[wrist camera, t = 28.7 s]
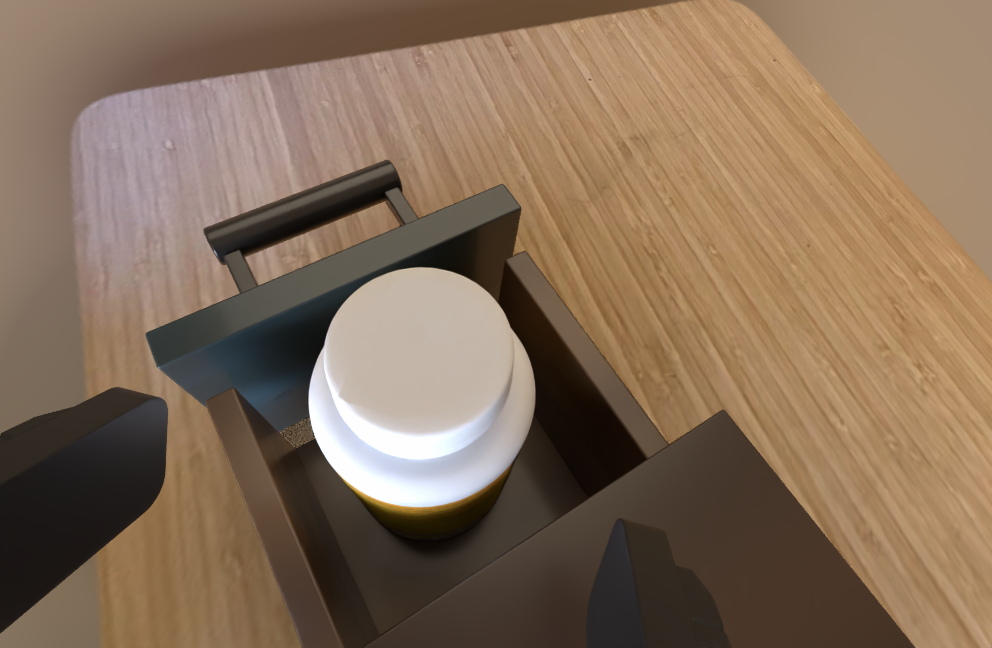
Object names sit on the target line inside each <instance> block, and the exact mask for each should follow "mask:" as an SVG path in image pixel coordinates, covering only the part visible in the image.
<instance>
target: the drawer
mask: <svg viewBox="0 0 992 648" xmlns="http://www.w3.org/2000/svg"><path fill="white" fill-rule="evenodd" d="M402 192H403V190H402V184H401V180H400V177H399V175H398V173H397V171H396V169H395V167H394V165H393V164H392V163H391V162H390V161H389V160H384V161H382V162H379V163H376V164H374V165H371V166H368V167H366V168H363V169H360V170H358V171H355V172H352V173H350V174H347V175H344V176H342V177H339V178H336V179H334V180H331V181H328V182H326V183H323V184H320V185H318V186H315V187H312V188H310V189H307V190H304V191H302V192H299V193H296V194H294V195H291V196H288V197H286V198H283V199H280V200H278V201H275V202H272V203H270V204H267V205H264V206H262V207H259V208H256V209H254V210H251V211H248V212H246V213H243V214H240V215H238V216H235V217H232V218H230V219H227V220H224V221H222V222H219V223H216V224H214V225H211V226H208V227H206V228H204V229H203V230H204V234H205V236H206V239H207V241H208V243H209V245H210V247H211V248H212V250H213V252H214V254H215V255H216V257H217V259H218V260H219V262H220V263H221V264H222V265H227V266H228V268H229V271H230V273H231V275H232V277H233V279H234V281H235V283H236V286H237V288H238V290H239V292H240V294H238V295H235V296H233V297H230V298H228V299H226V300H223V301H221V302H218V303H216V304H214V305H211V306H209V307H207V308H204V309H202V310H199V311H197V312H195V313H192V314H190V315H187V316H185V317H183V318H180V319H178V320H175V321H173V322H171V323H168V324H166V325H164V326H161V327H159V328H156V329H154V330H152V331H149V332H147V333H146V339H147V341H148V344H149V347H150V349H151V352H152V355H153V358H154V360H155V363H156V366H157V368H158V369H160V370H161V371H162V372H163V373H165V374H166V375H167V376H168V377H169V378H171V379H172V380H173V381H174V382H176V383H177V384H178V385H179V386H181V387H182V388H183V389H184V390H185V391H187V392H188V393H189V394H190V395H192V396H193V397H194V398H195V399H197V400H198V401H199V402H200V403H201V404H203V405H204V406H205V407H206V408H208V411H209V413H210V416H211V419H212V421H213V424H214V426H215V429H216V431H217V434H218V436H219V439H220V441H221V444H222V446H223V449H224V451H225V454H226V456H227V459H228V461H229V464H230V466H231V469H232V471H233V474H234V477H235V479H236V482H237V484H238V487H239V489H240V492H241V494H242V497H243V499H244V502H245V504H246V507H247V509H248V512H249V514H250V517H251V519H252V522H253V524H254V527H255V529H256V532H257V535H258V537H259V540H260V542H261V545H262V547H263V550H264V552H265V555H266V557H267V560H268V562H269V565H270V567H271V570H272V572H273V575H274V577H275V580H276V582H277V585H278V588H279V590H280V593H281V595H282V598H283V600H284V603H285V605H286V608H287V610H288V613H289V615H290V618H291V620H292V623H293V625H294V628H295V630H296V633H297V635H298V638H299V640H300V643H301V646H302V648H361V647H363V646H364V645H366V644H367V643H369V642H370V641H372V640H373V639H375V638H376V637H378V636H379V635H381V634H382V633H384V632H386V631H387V630H389V629H390V628H392V627H393V626H395V625H396V624H398V623H399V622H401V621H402V620H404V619H405V618H407V617H408V616H410V615H411V614H413V613H414V612H416V611H417V610H419V609H420V608H422V607H423V606H425V605H426V604H428V603H430V602H431V601H433V600H434V599H436V598H437V597H439V596H440V595H442V594H443V593H445V592H446V591H448V590H449V589H451V588H452V587H454V586H455V585H457V584H458V583H460V582H461V581H463V580H464V579H466V578H467V577H469V576H470V575H472V574H474V573H475V572H477V571H478V570H480V569H481V568H483V567H484V566H486V565H487V564H489V563H490V562H492V561H493V560H495V559H496V558H498V557H499V556H501V555H502V554H504V553H505V552H507V551H508V550H510V549H511V548H513V547H514V546H516V545H518V544H519V543H521V542H522V541H524V540H525V539H527V538H528V537H530V536H531V535H533V534H534V533H536V532H537V531H539V530H540V529H542V528H543V527H545V526H546V525H548V524H549V523H551V522H552V521H554V520H555V519H557V518H558V517H560V516H562V515H563V514H565V513H566V512H568V511H569V510H571V509H572V508H574V507H575V506H577V505H578V504H580V503H581V502H583V501H584V500H586V499H587V498H589V497H590V496H592V495H593V494H595V493H596V492H598V491H599V490H601V489H602V488H604V487H606V486H607V485H609V484H610V483H612V482H613V481H615V480H616V479H618V478H619V477H621V476H622V475H624V474H625V473H627V472H628V471H630V470H631V469H633V468H634V467H636V466H637V465H639V464H640V463H642V462H643V461H645V460H646V459H648V458H650V457H651V456H653V455H654V454H656V453H657V452H659V451H660V450H662V449H663V448H665V447H666V446H668V445H669V444H668V443H667V441H666V440H665V439H664V437H663V436H662V435H661V433H660V432H659V430H658V429H657V428H656V426H655V425H654V424H653V422H652V421H651V420H650V418H649V417H648V416H647V414H646V413H645V412H644V410H643V409H642V407H641V406H640V405H639V403H638V402H637V401H636V399H635V398H634V397H633V395H632V394H631V393H630V391H629V390H628V388H627V387H626V386H625V384H624V383H623V382H622V380H621V379H620V378H619V376H618V375H617V374H616V372H615V371H614V370H613V368H612V367H611V365H610V364H609V363H608V361H607V360H606V359H605V357H604V356H603V355H602V353H601V352H600V351H599V349H598V348H597V347H596V345H595V344H594V342H593V341H592V340H591V338H590V337H589V336H588V334H587V333H586V332H585V330H584V329H583V328H582V326H581V325H580V323H579V322H578V321H577V319H576V318H575V317H574V315H573V314H572V313H571V311H570V310H569V309H568V307H567V306H566V305H565V303H564V302H563V300H562V299H561V298H560V296H559V295H558V294H557V292H556V291H555V290H554V288H553V287H552V286H551V284H550V283H549V281H548V280H547V279H546V277H545V276H544V275H543V273H542V272H541V271H540V269H539V268H538V267H537V265H536V264H535V263H534V261H533V260H532V258H531V257H530V256H529V254H528V253H527V252H526V251H523V252H520V253H518V254H516V255H514V256H513V252H514V247H515V241H516V236H517V231H518V225H519V220H520V215H521V206H520V205H519V203H518V202H517V201H516V200H515V198H514V197H513V196H512V194H511V193H510V192H509V190H508V189H507V188H506V186H505V185H504V184H500V185H498V186H496V187H493V188H491V189H488V190H486V191H484V192H481V193H479V194H477V195H474V196H472V197H469V198H467V199H465V200H462V201H460V202H457V203H455V204H453V205H450V206H448V207H445V208H443V209H441V210H438V211H436V212H434V213H431V214H429V215H426V216H424V217H422V218H418V217H417V215H416V214H415V212H414V211H413V209H412V207H411V206H410V204H409V203H408V201H407V200H406V198H405V197H404V195H403V194H402ZM384 201H386V204H387V205H388V207H389V208H390V210H391V211H392V213H393V215H394V216H395V218H396V219H397V221H398V222H399V224H400V227H398V228H395V229H393V230H391V231H388V232H386V233H383V234H381V235H379V236H376V237H374V238H371V239H369V240H367V241H364V242H362V243H359V244H357V245H355V246H352V247H350V248H347V249H345V250H343V251H340V252H338V253H336V254H333V255H331V256H328V257H326V258H324V259H321V260H319V261H316V262H314V263H312V264H309V265H307V266H304V267H302V268H300V269H297V270H295V271H293V272H290V273H288V274H285V275H283V276H281V277H278V278H276V279H273V280H271V281H269V282H266V283H264V284H261V285H258V283H257V281H256V279H255V277H254V275H253V273H252V271H251V269H250V267H249V265H248V263H247V261H246V259H245V257H247V256H249V255H252V254H254V253H257V252H259V251H262V250H264V249H267V248H269V247H272V246H274V245H277V244H279V243H282V242H284V241H287V240H289V239H292V238H294V237H297V236H299V235H302V234H304V233H307V232H309V231H312V230H314V229H317V228H319V227H322V226H324V225H327V224H329V223H332V222H334V221H337V220H339V219H342V218H344V217H347V216H349V215H352V214H354V213H357V212H359V211H362V210H364V209H367V208H369V207H372V206H374V205H377V204H379V203H382V202H384ZM419 267H422V268H436V269H442V270H446V271H450V272H453V273H456V274H459V275H462V276H464V277H466V278H468V279H470V280H471V281H473V282H475V283H477V284H478V285H479V286H481V287H482V288H483V289H485V290H486V291H487V292H488V293H489V294H490V295H491V296H492V297H493V298H494V299H495V301H496V302H497V303H498V304H499V305H500V307H501V309H502V310H503V312H504V313H505V315H506V318H507V320H508V322H509V325H510V328H511V329H512V330H513V332H514V333H515V334H516V336H517V337H518V339H519V340H520V342H521V343H522V345H523V347H524V348H525V351H526V353H527V355H528V358H529V360H530V363H531V367H532V370H533V375H534V380H535V408H534V414H533V419H532V423H531V426H530V429H529V432H528V435H527V438H526V442H525V443H524V445H523V447H522V449H521V451H520V453H519V455H518V457H517V459H516V462H515V464H514V466H513V468H512V471H511V473H510V475H509V477H508V479H507V481H506V484H505V486H504V488H503V490H502V492H501V494H500V496H499V498H498V500H497V502H496V503H495V505H494V506H493V507H492V508H491V510H490V511H489V512H488V513H487V514H486V515H485V516H484V518H482V519H481V520H480V521H479V522H478V523H477V524H475V525H474V526H473V527H471V528H470V529H468V530H466V531H464V532H462V533H460V534H458V535H455V536H452V537H449V538H445V539H440V540H416V539H411V538H407V537H404V536H401V535H398V534H396V533H394V532H392V531H390V530H389V529H387V528H385V527H384V526H383V525H381V524H380V523H379V522H378V521H377V520H376V519H375V518H374V517H373V516H372V515H371V514H370V513H369V511H368V510H367V509H366V508H365V506H364V505H363V504H362V502H361V501H360V500H359V499H358V498H357V496H356V495H355V494H354V493H353V492H352V490H351V489H350V488H349V487H348V485H347V484H346V483H345V482H344V481H343V479H342V478H341V477H340V476H339V474H338V473H337V472H336V471H335V469H334V468H333V467H332V466H331V464H330V463H329V462H328V460H327V459H326V457H325V455H324V454H323V452H322V450H321V448H320V446H319V444H318V442H317V440H316V439H314V440H312V441H310V442H308V443H306V444H304V445H302V446H300V447H298V448H296V449H295V448H294V447H293V446H292V445H291V444H290V443H289V442H288V441H287V440H286V439H285V438H284V437H283V436H282V435H281V434H280V433H279V431H281V430H283V429H285V428H287V427H289V426H291V425H293V424H295V423H297V422H299V421H301V420H303V419H305V418H307V417H309V416H310V414H309V388H310V381H311V377H312V373H313V370H314V367H315V364H316V361H317V359H318V357H319V355H320V353H321V351H322V349H323V347H324V345H325V340H326V336H327V332H328V329H329V326H330V324H331V322H332V320H333V318H334V316H335V315H336V313H337V311H338V310H339V308H340V307H341V306H342V305H343V303H344V302H345V301H346V300H347V299H348V298H349V297H350V296H351V295H352V294H353V293H354V292H355V291H356V290H358V289H359V288H360V287H362V286H363V285H365V284H366V283H368V282H369V281H371V280H373V279H375V278H377V277H380V276H382V275H384V274H387V273H390V272H393V271H397V270H401V269H408V268H419Z"/></svg>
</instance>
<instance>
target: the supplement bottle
mask: <svg viewBox="0 0 992 648" xmlns="http://www.w3.org/2000/svg"><path fill="white" fill-rule="evenodd" d="M534 408H535V380H534V375H533V370H532V367H531V363H530V360H529V358H528V355H527V353H526V351H525V348H524V347H523V345H522V343H521V342H520V340H519V339H518V337H517V336H516V334H515V333H514V332H513V330H512V329H511V328H510V325H509V322H508V320H507V318H506V315H505V313H504V312H503V310H502V309H501V307H500V305H499V304H498V303H497V302H496V301H495V299H494V298H493V297H492V296H491V295H490V294H489V293H488V292H487V291H486V290H485V289H483V288H482V287H481V286H479V285H478V284H477V283H475V282H473V281H471V280H470V279H468V278H466V277H464V276H462V275H459V274H456V273H453V272H450V271H446V270H442V269H436V268H422V267H419V268H408V269H401V270H397V271H393V272H390V273H387V274H384V275H382V276H380V277H377V278H375V279H373V280H371V281H369V282H368V283H366V284H365V285H363V286H362V287H360V288H359V289H358V290H356V291H355V292H354V293H353V294H352V295H351V296H350V297H349V298H348V299H347V300H346V301H345V302H344V303H343V305H342V306H341V307H340V308H339V310H338V311H337V313H336V315H335V316H334V318H333V320H332V322H331V324H330V326H329V329H328V332H327V336H326V340H325V345H324V347H323V349H322V351H321V353H320V355H319V357H318V359H317V361H316V364H315V367H314V370H313V373H312V377H311V381H310V388H309V414H310V419H311V425H312V428H313V432H314V435H315V438H316V440H317V442H318V444H319V446H320V448H321V450H322V452H323V454H324V455H325V457H326V459H327V460H328V462H329V463H330V464H331V466H332V467H333V468H334V469H335V471H336V472H337V473H338V474H339V476H340V477H341V478H342V479H343V481H344V482H345V483H346V484H347V485H348V487H349V488H350V489H351V490H352V492H353V493H354V494H355V495H356V496H357V498H358V499H359V500H360V501H361V502H362V504H363V505H364V506H365V508H366V509H367V510H368V511H369V513H370V514H371V515H372V516H373V517H374V518H375V519H376V520H377V521H378V522H379V523H380V524H381V525H383V526H384V527H385V528H387V529H389V530H390V531H392V532H394V533H396V534H398V535H401V536H404V537H407V538H411V539H416V540H440V539H445V538H449V537H452V536H455V535H458V534H460V533H462V532H464V531H466V530H468V529H470V528H471V527H473V526H474V525H475V524H477V523H478V522H479V521H480V520H481V519H482V518H484V516H485V515H486V514H487V513H488V512H489V511H490V510H491V508H492V507H493V506H494V505H495V503H496V502H497V500H498V498H499V496H500V494H501V492H502V490H503V488H504V486H505V484H506V481H507V479H508V477H509V475H510V473H511V471H512V468H513V466H514V464H515V462H516V459H517V457H518V455H519V453H520V451H521V449H522V447H523V445H524V443H525V442H526V438H527V435H528V432H529V429H530V426H531V423H532V419H533V414H534Z"/></svg>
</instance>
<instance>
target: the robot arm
mask: <svg viewBox="0 0 992 648" xmlns="http://www.w3.org/2000/svg"><path fill="white" fill-rule="evenodd" d="M167 422H168V408H167V404H166V402H165V401H164V400H163V399H162V398H159V397H155V396H151V395H147V394H144V393H140V392H136V391H132V390H128V389H124V388H120V387H115V388H111V389H109V390H107V391H105V392H103V393H101V394H99V395H97V396H95V397H93V398H91V399H89V400H87V401H85V402H83V403H81V404H79V405H77V406H75V407H71V408H67V409H63V410H60V411H56V412H52V413H48V414H45V415H41V416H37V417H34V418H32V419H30V420H28V421H26V422H23V423H22V424H19V425H17V426H15V427H13V428H11V429H9V430H7V431H5V432H3V433H1V435H0V633H1V632H3V631H4V630H5V629H6V628H7V627H9V626H10V625H11V624H12V623H13V622H14V621H16V620H17V619H18V618H19V617H20V616H22V615H23V614H24V613H25V612H27V611H28V610H29V609H30V608H31V607H32V606H34V605H35V604H36V603H37V602H38V601H39V600H41V599H42V598H43V597H44V596H46V595H47V594H48V593H49V592H50V591H52V590H53V589H54V588H55V587H56V586H57V585H59V584H60V583H61V582H62V581H63V580H65V579H66V578H67V577H68V576H69V575H71V574H72V573H73V572H74V571H75V570H77V569H78V568H79V567H80V566H81V565H82V564H84V563H85V562H86V561H87V560H88V559H90V558H91V557H92V556H93V555H94V554H96V553H97V552H98V551H99V550H100V549H102V548H103V547H104V546H105V545H106V544H108V543H109V542H110V541H111V540H112V539H114V538H115V537H116V536H117V535H118V534H119V533H121V532H122V531H123V530H124V529H125V528H127V527H128V526H129V525H130V524H131V523H133V522H134V521H135V520H136V519H137V518H139V517H140V516H141V515H142V514H143V513H144V512H146V511H147V510H148V509H149V508H150V506H151V505H152V504H153V503H154V501H155V500H156V498H157V496H158V495H159V493H160V490H161V488H162V486H163V482H164V478H165V468H166V445H167ZM586 640H587V648H732V647H731V645H730V642H729V639H728V636H727V634H726V633H724V625H723V622H722V620H721V617H720V614H719V611H718V609H717V606H716V603H715V600H714V598H713V596H712V595H711V594H710V592H709V591H708V590H707V589H706V587H705V586H704V585H703V583H702V582H701V581H700V579H699V578H698V577H697V576H696V574H695V573H694V572H693V570H691V569H687V568H684V567H680V566H676V565H675V562H674V558H673V555H672V552H671V548H670V545H669V542H668V538H667V535H666V533H665V531H664V530H663V529H659V528H656V527H652V526H648V525H644V524H640V523H636V522H632V521H629V520H625V519H621V518H619V519H618V520H617V521H616V522H615V524H614V526H613V529H612V531H611V534H610V537H609V540H608V543H607V546H606V549H605V552H604V555H603V558H602V560H601V563H600V566H599V569H598V572H597V575H596V578H595V581H594V584H593V587H592V590H591V593H590V597H589V602H588V608H587V617H586Z"/></svg>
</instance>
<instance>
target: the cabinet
mask: <svg viewBox="0 0 992 648" xmlns="http://www.w3.org/2000/svg"><path fill="white" fill-rule="evenodd" d="M619 518H621V519H625V520H629V521H632V522H636V523H640V524H644V525H648V526H652V527H656V528H659V529H663V530H664V531H665V533H666V535H667V538H668V542H669V545H670V548H671V552H672V555H673V558H674V562H675V565H676V566H680V567H684V568H687V569H691V570H693V572H694V573H695V574H696V576H697V577H698V578H699V579H700V581H701V582H702V583H703V585H704V586H705V587H706V589H707V590H708V591H709V592H710V594H711V595H712V596H713V598H714V600H715V603H716V606H717V609H718V611H719V614H720V617H721V620H722V622H723V625H724V633H726V634H727V636H728V639H729V642H730V645H731V647H732V648H915V647H914V645H913V644H912V643H911V642H910V640H909V639H908V638H907V637H906V635H905V634H904V633H903V632H902V630H901V629H900V628H899V627H898V625H897V624H896V623H895V622H894V620H893V619H892V618H891V617H890V615H889V614H888V613H887V612H886V610H885V609H884V608H883V607H882V605H881V604H880V603H879V602H878V600H877V599H876V598H875V597H874V595H873V594H872V593H871V592H870V591H869V589H868V588H867V587H866V586H865V584H864V583H863V582H862V581H861V579H860V578H859V577H858V576H857V574H856V573H855V572H854V571H853V569H852V568H851V567H850V566H849V564H848V563H847V562H846V561H845V559H844V558H843V557H842V556H841V554H840V553H839V552H838V551H837V549H836V548H835V547H834V546H833V544H832V543H831V542H830V541H829V539H828V538H827V537H826V536H825V534H824V533H823V532H822V531H821V529H820V528H819V527H818V526H817V524H816V523H815V522H814V521H813V519H812V518H811V517H810V516H809V514H808V513H807V512H806V511H805V509H804V508H803V507H802V506H801V505H800V503H799V502H798V501H797V500H796V498H795V497H794V496H793V495H792V493H791V492H790V491H789V490H788V488H787V487H786V486H785V485H784V483H783V482H782V481H781V480H780V478H779V477H778V476H777V475H776V473H775V472H774V471H773V470H772V468H771V467H770V466H769V465H768V463H767V462H766V461H765V460H764V458H763V457H762V456H761V455H760V453H759V452H758V451H757V450H756V448H755V447H754V446H753V445H752V443H751V442H750V441H749V440H748V438H747V437H746V436H745V435H744V433H743V432H742V431H741V430H740V428H739V427H738V426H737V425H736V423H735V422H734V421H733V420H732V418H731V417H730V416H729V415H728V414H727V412H726V411H725V410H721V411H719V412H718V413H716V414H715V415H713V416H712V417H710V418H709V419H707V420H706V421H704V422H703V423H701V424H700V425H698V426H697V427H695V428H694V429H692V430H690V431H689V432H687V433H686V434H684V435H683V436H681V437H680V438H678V439H677V440H675V441H674V442H672V443H671V444H669V445H668V446H666V447H665V448H663V449H662V450H660V451H659V452H657V453H656V454H654V455H653V456H651V457H650V458H648V459H646V460H645V461H643V462H642V463H640V464H639V465H637V466H636V467H634V468H633V469H631V470H630V471H628V472H627V473H625V474H624V475H622V476H621V477H619V478H618V479H616V480H615V481H613V482H612V483H610V484H609V485H607V486H606V487H604V488H602V489H601V490H599V491H598V492H596V493H595V494H593V495H592V496H590V497H589V498H587V499H586V500H584V501H583V502H581V503H580V504H578V505H577V506H575V507H574V508H572V509H571V510H569V511H568V512H566V513H565V514H563V515H562V516H560V517H558V518H557V519H555V520H554V521H552V522H551V523H549V524H548V525H546V526H545V527H543V528H542V529H540V530H539V531H537V532H536V533H534V534H533V535H531V536H530V537H528V538H527V539H525V540H524V541H522V542H521V543H519V544H518V545H516V546H514V547H513V548H511V549H510V550H508V551H507V552H505V553H504V554H502V555H501V556H499V557H498V558H496V559H495V560H493V561H492V562H490V563H489V564H487V565H486V566H484V567H483V568H481V569H480V570H478V571H477V572H475V573H474V574H472V575H470V576H469V577H467V578H466V579H464V580H463V581H461V582H460V583H458V584H457V585H455V586H454V587H452V588H451V589H449V590H448V591H446V592H445V593H443V594H442V595H440V596H439V597H437V598H436V599H434V600H433V601H431V602H430V603H428V604H426V605H425V606H423V607H422V608H420V609H419V610H417V611H416V612H414V613H413V614H411V615H410V616H408V617H407V618H405V619H404V620H402V621H401V622H399V623H398V624H396V625H395V626H393V627H392V628H390V629H389V630H387V631H386V632H384V633H382V634H381V635H379V636H378V637H376V638H375V639H373V640H372V641H370V642H369V643H367V644H366V645H364V646H363V647H361V648H587V640H586V617H587V608H588V602H589V597H590V593H591V590H592V587H593V584H594V581H595V578H596V575H597V572H598V569H599V566H600V563H601V560H602V558H603V555H604V552H605V549H606V546H607V543H608V540H609V537H610V534H611V531H612V529H613V526H614V524H615V522H616V521H617V520H618V519H619Z"/></svg>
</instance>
